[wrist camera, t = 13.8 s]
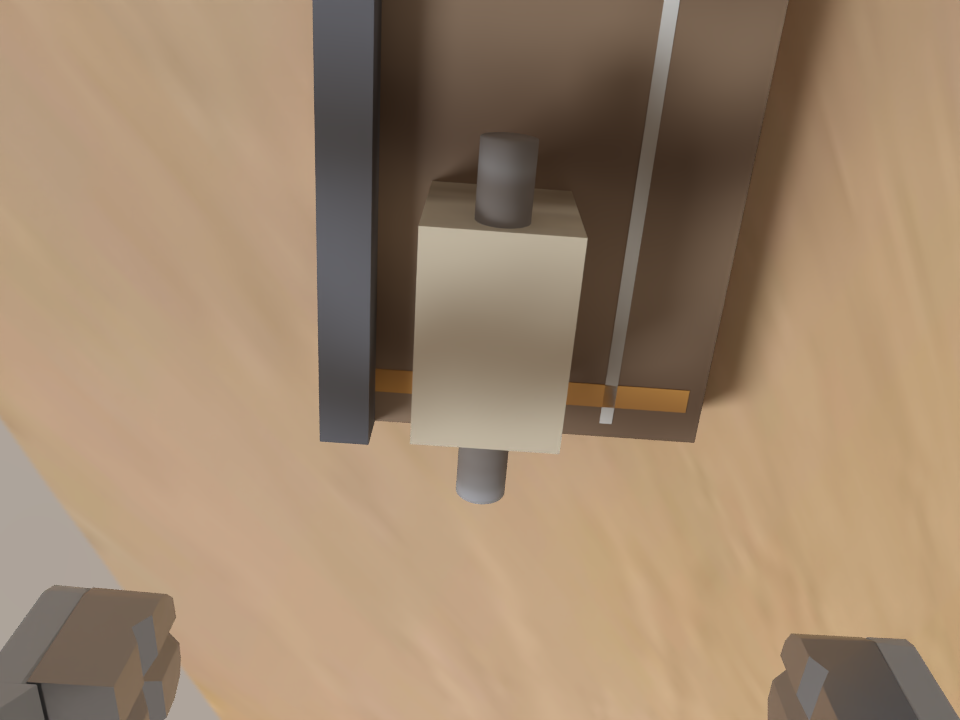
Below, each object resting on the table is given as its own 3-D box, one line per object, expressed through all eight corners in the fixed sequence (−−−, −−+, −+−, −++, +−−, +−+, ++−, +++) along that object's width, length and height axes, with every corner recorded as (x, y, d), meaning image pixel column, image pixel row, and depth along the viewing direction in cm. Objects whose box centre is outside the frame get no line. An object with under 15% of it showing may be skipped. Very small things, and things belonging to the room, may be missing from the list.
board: (335, -339, 20) (305, -397, 17) (825, -299, 20) (887, -348, 17) (339, 389, 29) (319, 441, 25) (681, 412, 29) (704, 468, 26)
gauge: (434, 108, 23) (422, 139, 18) (580, 119, 23) (598, 152, 19) (420, 423, 27) (407, 505, 23) (542, 432, 27) (551, 514, 23)
